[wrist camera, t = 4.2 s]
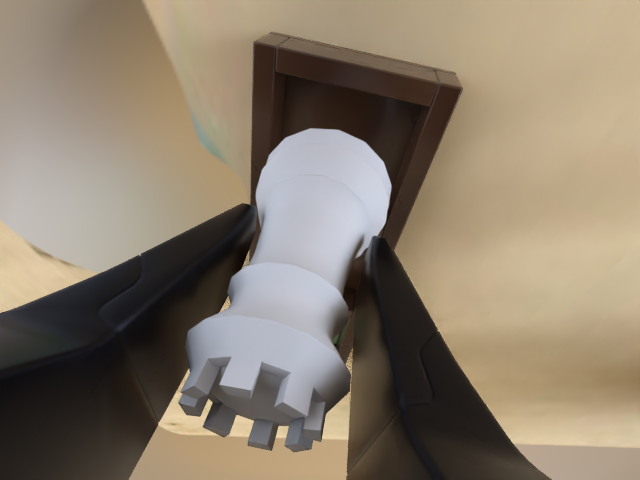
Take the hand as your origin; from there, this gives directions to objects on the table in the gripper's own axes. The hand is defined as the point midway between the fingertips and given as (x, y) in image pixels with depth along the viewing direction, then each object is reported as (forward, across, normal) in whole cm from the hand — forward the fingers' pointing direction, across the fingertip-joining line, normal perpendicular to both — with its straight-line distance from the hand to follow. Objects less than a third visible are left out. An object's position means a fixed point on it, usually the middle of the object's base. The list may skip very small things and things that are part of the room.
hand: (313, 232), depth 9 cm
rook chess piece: (+3, 0, 0) cm, 3 cm away
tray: (+7, 0, +6) cm, 9 cm away
